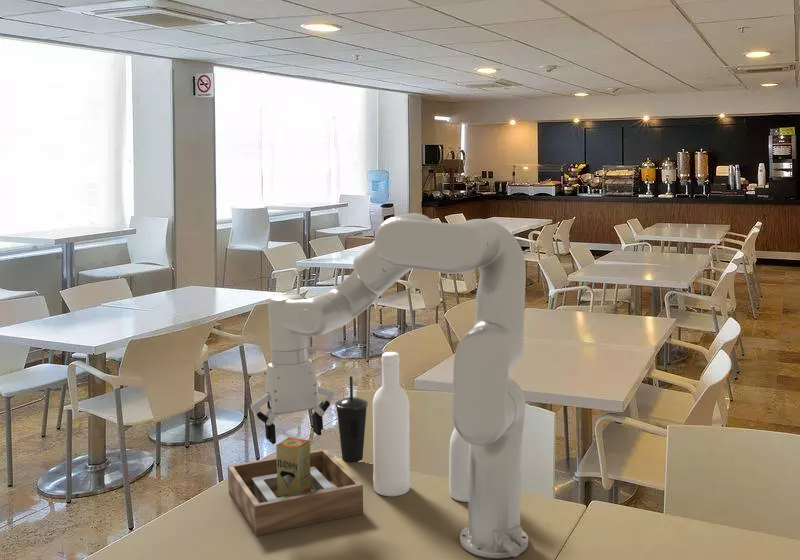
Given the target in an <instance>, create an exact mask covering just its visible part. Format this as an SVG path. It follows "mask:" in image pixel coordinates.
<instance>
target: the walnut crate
mask: <svg viewBox="0 0 800 560" xmlns="http://www.w3.org/2000/svg"><path fill="white" fill-rule="evenodd" d="M310 475H311V492H305V493H300V494H295V495H290V496H285V497H280V498H278V485H277V456H276V457H270V458H265V459H259V460H252V461H247V462H242V463H241V462H240V463H235V464H229V465H227V481H228V484H227V485H228V493H229V495H230V496H231V499H232V500H233V502H234V504H235V505H236V506H237V508H238V509H239V511H240V513H241V514H242V516H243V518H244V519H245V521H246V523H248V525H249V527H250V528H251V530H252V532H253V533H254V536H255V537H258V536H264V535H268V534H269V535H270V534H273V533H277V532H282V531H288V530H293V529H296V528H300V527H305V526H309V525H316V524H319V523H324V522H329V521H333V520H337V519H342V518H348V517H353V516H357V515H360V514H364V484H363V483H362V482H361V481H359V480H358V478H356V477H355V476H354V474H353V473H351V472H350V471H349V470H348V469H347V468H346V467H345V466H344V465H343V464H342V463H340V461H339V460H337V458H336V457H334V456H333V455H332V454H331V453H330V451H328V450H327V449H326V448H321V449H316V450H315V449H314V450H310Z"/></svg>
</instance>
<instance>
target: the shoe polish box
mask: <svg viewBox="0 0 800 560" xmlns="http://www.w3.org/2000/svg"><path fill="white" fill-rule="evenodd" d="M310 443H311V441H310V440H308V439H304V438H297V437H296V438H295V437H290V436H288V437H287V438H284V440H282V441H281V442H279V443H277V444H276V445H275V447H276V448H275V449H276V450H275V452H276V457H277V485H278V498H280V497H285V496H290V495H295V494H300V493H305V492H311V475H310V451H311V444H310Z"/></svg>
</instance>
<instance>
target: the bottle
mask: <svg viewBox="0 0 800 560" xmlns="http://www.w3.org/2000/svg"><path fill="white" fill-rule="evenodd" d="M380 361H381V378H382V380H381V381H382V382H381V383H382V384H381V386H380V387H379V388H378V389H377V390H376V391H375V394H374V396H373V399H372V444H373V447H372V452H373V454H372V455H373V456H372V457H373V458H372V459H373V462H372V463H373V464H372V465H373V475H372V482H373V490H374V491H375V493H376V494H378V495H380V496H385V497H399V496H402V495H405V494H407V493H408V492H409V491H410V490H411V474H410V470H411V469H410V468H411V467H410V466H411V463H410V462H411V461H410V460H411V459H410V456H411V453H410V451H411V449H410V442H411V441H410V440H411V439H410V438H411V437H410V433H411V432H410V400H409V397H408V394H407V391H406V390H405V389H403V387H402V386H401V385H400V363H401V359H400V354H399V353H398V352H396V351H385V352H383V353H382V355H381V360H380Z"/></svg>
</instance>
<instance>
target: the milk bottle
mask: <svg viewBox="0 0 800 560" xmlns="http://www.w3.org/2000/svg"><path fill="white" fill-rule="evenodd" d="M448 455H449V459H448V460H449V463H448V467H449V470H448V474H449V475H448V481H449V482H448V488H449V489H448V490H449V491H448V492H449V496H450V498H452V499H454V500H455V501H457V502H463V503H468V499H469V443H468V442H467V441H465V440H464V439H463V438H462V437H461V436H460V435H459V433H458V432H457V430H456V428H455V427H454V429H453V431H452V433H451V436H450V440H449V454H448Z"/></svg>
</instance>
